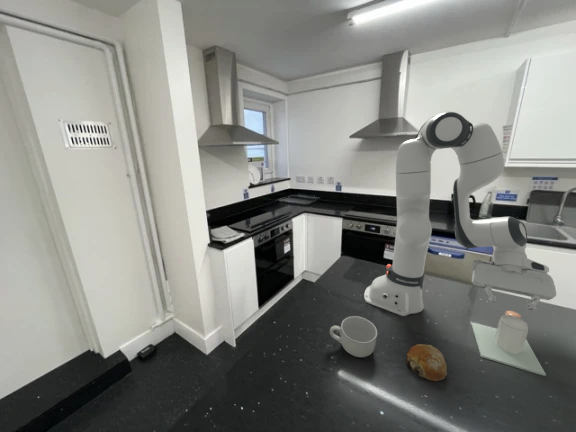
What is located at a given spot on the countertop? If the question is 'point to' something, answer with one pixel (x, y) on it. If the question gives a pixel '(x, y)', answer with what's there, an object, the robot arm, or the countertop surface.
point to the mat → (495, 353)
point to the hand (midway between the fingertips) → (511, 305)
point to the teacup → (356, 336)
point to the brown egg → (513, 314)
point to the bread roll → (427, 362)
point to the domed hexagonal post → (511, 334)
